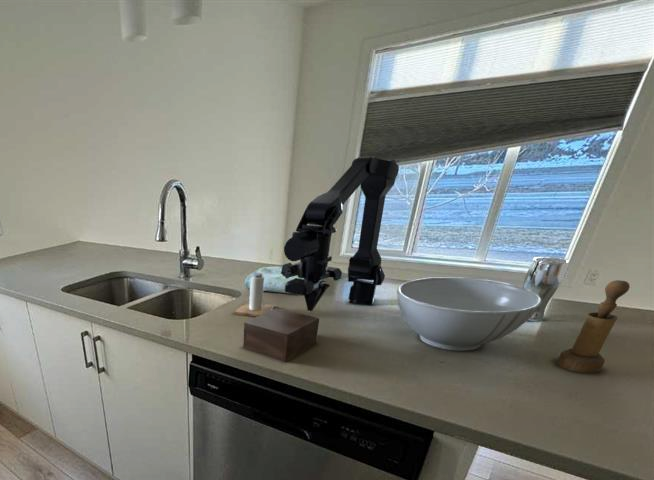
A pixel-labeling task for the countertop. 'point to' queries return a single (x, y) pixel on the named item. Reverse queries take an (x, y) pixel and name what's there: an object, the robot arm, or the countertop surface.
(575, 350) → the mortar and pestle
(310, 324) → the cabinet
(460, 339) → the decorative bowl
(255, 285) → the salt mill
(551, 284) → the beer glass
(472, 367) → the countertop surface
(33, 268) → the countertop surface
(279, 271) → the towel
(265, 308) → the cork mat
